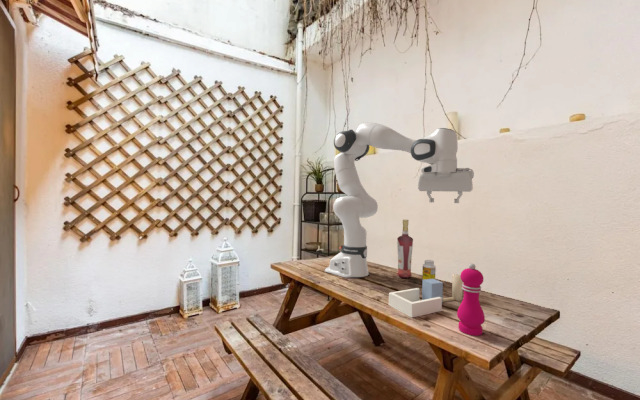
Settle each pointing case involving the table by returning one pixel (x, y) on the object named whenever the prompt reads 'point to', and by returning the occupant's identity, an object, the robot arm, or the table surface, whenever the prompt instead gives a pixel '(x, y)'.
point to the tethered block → (435, 289)
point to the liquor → (404, 252)
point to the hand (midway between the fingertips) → (443, 202)
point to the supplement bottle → (428, 270)
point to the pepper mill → (471, 302)
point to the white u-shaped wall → (414, 303)
